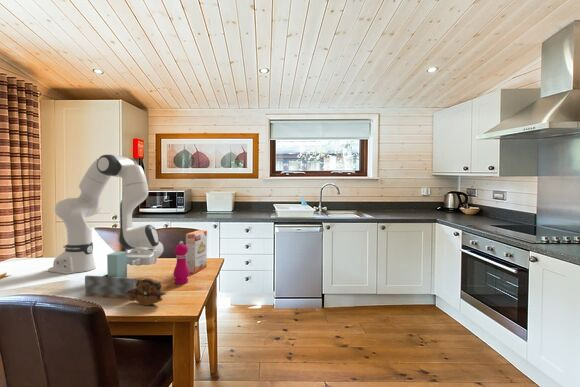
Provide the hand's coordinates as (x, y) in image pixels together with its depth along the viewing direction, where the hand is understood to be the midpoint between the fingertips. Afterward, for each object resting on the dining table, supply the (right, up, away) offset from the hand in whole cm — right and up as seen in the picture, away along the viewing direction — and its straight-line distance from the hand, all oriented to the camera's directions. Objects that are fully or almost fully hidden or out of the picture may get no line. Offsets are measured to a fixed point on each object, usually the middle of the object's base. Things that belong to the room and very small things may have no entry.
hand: (121, 263), depth 144 cm
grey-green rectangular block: (0, -11, -2) cm, 11 cm away
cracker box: (+23, -11, +35) cm, 44 cm away
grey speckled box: (0, -12, +1) cm, 13 cm away
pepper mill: (+22, -12, +13) cm, 29 cm away
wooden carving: (+17, -14, -14) cm, 26 cm away
